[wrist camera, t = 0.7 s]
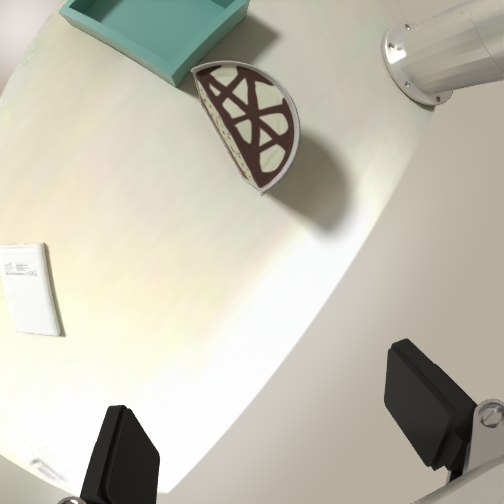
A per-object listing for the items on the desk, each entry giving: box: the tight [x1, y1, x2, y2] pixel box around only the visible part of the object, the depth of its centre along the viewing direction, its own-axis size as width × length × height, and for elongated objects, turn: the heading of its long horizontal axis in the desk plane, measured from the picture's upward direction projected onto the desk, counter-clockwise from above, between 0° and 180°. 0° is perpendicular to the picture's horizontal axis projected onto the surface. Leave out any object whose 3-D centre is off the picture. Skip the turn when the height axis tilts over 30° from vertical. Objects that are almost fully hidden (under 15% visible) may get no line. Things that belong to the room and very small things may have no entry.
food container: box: [191, 61, 300, 196], centre depth 26 cm, size 12×6×10 cm, turn 28°
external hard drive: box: [0, 242, 61, 336], centre depth 32 cm, size 2×8×12 cm
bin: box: [58, 0, 250, 88], centre depth 23 cm, size 12×18×4 cm, turn 52°
